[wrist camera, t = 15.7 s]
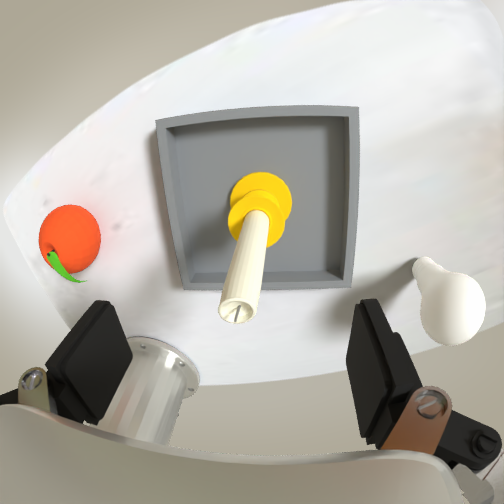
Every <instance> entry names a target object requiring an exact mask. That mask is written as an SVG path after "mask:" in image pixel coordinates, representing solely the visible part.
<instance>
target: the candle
mask: <svg viewBox="0 0 504 504" xmlns="http://www.w3.org/2000/svg"><path fill="white" fill-rule="evenodd" d="M230 207H231V210H230V213H229V216H228V227H229V231H230V233H231V235H232V236H233V238H234V239H235V240H236V241H237V245H236V248H235V251H234V254H233V258H232V261H231V264H230V267H229V270H228V274H227V277H226V280H225V283H224V287H223V291H222V296H221V300H220V305H219V307H218V313H219V315H220V317H221V318H222V319H223V320H225V321H227V322H229V323H234V324H240V323H245V322H248V321H249V320H251V319H252V318H253V317H254V316H255V314H256V311H257V306H258V301H259V296H260V291H261V284H262V276H263V268H264V260H265V253H266V248H267V247H269V246H272V245H273V244H274V243H276V242H277V241H278V240H279V239H280V237H281V236H282V234H283V231H284V227H285V221H286V219H287V218H288V216H289V214H290V212H291V207H292V198H291V193H290V191H289V188H288V186H287V185H286V184H285V183H284V181H283V180H282V179H280V178H279V177H277V176H276V175H274V174H271V173H268V172H254V173H250V174H248V175H246V176H244V177H243V178H241V179H240V180H239V181H238V182H237V183H236V185H235V186H234V188H233V190H232V193H231V196H230Z"/></svg>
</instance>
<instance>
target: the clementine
mask: <svg viewBox="0 0 504 504" xmlns="http://www.w3.org/2000/svg"><path fill="white" fill-rule="evenodd" d="M100 243H101V234H100V230H99V226H98V223H97V221H96V219H95V218H94V217H93V215H92V214H91V213H90V212H88V211H87V210H86V209H84V208H82V207H81V206H76V205H64V206H61V207H58V208H56V209H54V210H53V211H52V212H51V213H49V214H48V216H47V217H46V218H45V220H44V221H43V223H42V225H41V228H40V232H39V248H40V251H41V254H42V256H43V258H44V260H45V261H46V262H47V263H48V264H49V265H50V266H51V267H52V268H53V269H55V270H56V271H57V272H58V273H59V274H60V275H61V276H63V277H64V278H66V279H68V280H70V281H72V282H78V283H80V282H85V281H79V280H76V279H74V278H73V277H72V276H71V275H70V274H72V273H77V272H80V271H82V270H84V269H85V268H87V267H88V266H89V265H90V264H91V263H92V262H93V261H94V259H95V258H96V256H97V254H98V251H99V248H100Z"/></svg>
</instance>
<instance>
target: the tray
mask: <svg viewBox="0 0 504 504" xmlns="http://www.w3.org/2000/svg"><path fill="white" fill-rule="evenodd" d="M155 121H156V130H157V139H158V147H159V155H160V162H161V170H162V177H163V183H164V190H165V196H166V202H167V208H168V214H169V220H170V225H171V231H172V236H173V241H174V246H175V251H176V256H177V261H178V266H179V271H180V275H181V280H182V284H183V289H184V290H223V287H224V283H225V280H226V277H227V274H228V270H229V267H230V264H231V261H232V258H233V254H234V251H235V248H236V245H237V241H236V240H235V239H234V238H233V236H232V235H231V233H230V231H229V227H228V216H229V213H230V210H231V207H230V196H231V193H232V190H233V188H234V186H235V185H236V183H237V182H238V181H239V180H240V179H241V178H243V177H244V176H246V175H248V174H250V173H254V172H268V173H271V174H274V175H276V176H277V177H279V178H280V179H282V180H283V181H284V183H285V184H286V185H287V186H288V188H289V191H290V193H291V198H292V207H291V212H290V214H289V216H288V218H287V219H286V221H285V227H284V231H283V234H282V236H281V237H280V239H279V240H278V241H277V242H276V243H274V244H273V245H272V246H269V247H267V248H266V253H265V260H264V268H263V276H262V284H261V290H292V289H326V288H351V283H352V275H353V266H354V256H355V245H356V233H357V218H358V200H359V168H360V135H359V107H351V106H324V105H293V106H266V107H250V108H238V109H227V110H218V111H209V112H202V113H195V114H188V115H181V116H175V117H169V118H164V119H159V120H155Z"/></svg>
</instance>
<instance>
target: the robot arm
mask: <svg viewBox="0 0 504 504" xmlns="http://www.w3.org/2000/svg"><path fill="white" fill-rule="evenodd" d="M45 366H46V367H47V369H48V371H47V372H45V370H44V369H42V368H40V367H34V368H31V369H29V370H27V371H26V372H25V373H23V375H22V376H21V378H20V379H19V384H18V389H15V390H12V391H10V392H7V393H5V394H2V395H0V504H464V500H463V497H462V494H461V490H462V491H463V492H464V494H463V496H464V497H465V498H466V499H467V500H468V501H469V503H470V504H504V450H503V449H502V442H501V438H500V435H499V434H498V433H497V431H496V430H494V429H493V428H491V427H489V426H486V425H484V424H481V423H480V422H477V421H475V420H473V419H470V418H468V417H466V416H464V415H462V414H460V413H457V412H455V411H453V410H452V402H451V399H450V397H449V395H448V394H447V393H446V392H445V391H444V390H442V389H440V388H438V387H434V386H425V387H423V386H422V383H421V381H420V378H419V376H418V374H417V371H416V369H415V367H414V365H413V362H412V360H411V358H410V355H409V353H408V351H407V349H406V346H405V344H404V342H403V340H402V338H401V336H400V334H399V333H397V332H394V333H393V332H392V330H391V327H390V325H389V323H388V321H387V319H386V317H385V315H384V313H383V310H382V308H381V306H380V304H379V302H378V300H377V299H365V300H361V301H360V304H356V305H355V310H354V317H353V323H352V328H351V334H350V340H349V345H348V350H347V355H346V366H347V371H348V375H349V380H350V384H351V389H352V394H353V398H354V404H355V409H356V414H357V419H358V425H359V430H360V435H361V437H362V438H365V437H366V442H367V445H369V444H375V446H376V449H378V450H367V451H356V452H344V453H343V452H342V453H332V454H317V455H291V456H290V455H287V456H264V455H263V456H262V455H238V454H225V453H214V452H206V451H197V450H190V449H183V448H177V447H171V446H168V445H169V442H170V438H171V435H172V432H173V429H174V425H175V422H176V419H177V417H178V416H179V413H178V412H179V409H180V406H181V403H182V399H184V398H188V397H190V396H192V395H193V394H194V393H195V392H196V391H197V388H198V386H199V382H200V376H199V373H198V371H197V369H196V367H195V365H194V364H193V363H192V362H191V361H190V359H188V358H187V357H186V356H185V355H184V354H183V353H181V352H180V351H178V350H177V349H175V348H174V347H172V346H170V345H168V344H166V343H163V342H161V341H158V340H155V339H151V338H145V337H132V338H128V339H126V336H125V334H124V331H123V329H122V326H121V324H120V321H119V319H118V316H117V313H116V311H115V308H114V306H113V305H111V303H110V302H109V301H101V300H97V301H95V302H94V303H93V304H92V305H91V306H90V307H89V309H88V310H87V311H86V312H85V313H84V315H83V316H82V317H81V318H80V320H79V321H78V322H77V323H76V324H75V326H74V327H73V328H72V329H71V331H70V332H69V333H68V334H67V336H66V337H65V338H64V340H63V341H62V342H61V344H60V345H59V346H58V347H57V349H56V350H55V351H54V353H53V354H52V355H51V357H50V358H49V359H48V361H47V362H46V364H45ZM84 420H85V421H86V422H87V423H90V425H89V426H87V425H84V424H83V421H84ZM460 489H461V490H460Z"/></svg>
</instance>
